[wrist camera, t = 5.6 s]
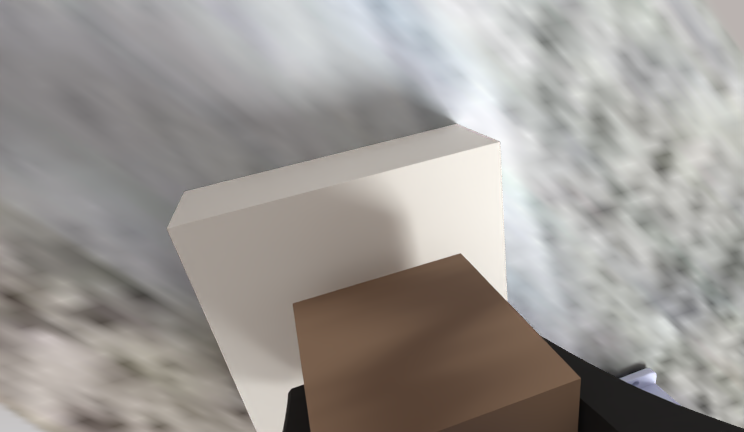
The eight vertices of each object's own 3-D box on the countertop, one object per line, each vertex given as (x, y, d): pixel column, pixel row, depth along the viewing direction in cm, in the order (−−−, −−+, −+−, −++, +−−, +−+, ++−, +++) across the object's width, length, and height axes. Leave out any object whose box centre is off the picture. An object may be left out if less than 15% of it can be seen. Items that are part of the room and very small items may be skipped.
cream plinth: (452, 122, 16) (499, 141, 13) (471, 324, 20) (510, 375, 17) (186, 187, 14) (166, 228, 11) (267, 391, 19) (270, 462, 15)
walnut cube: (460, 253, 12) (580, 378, 8) (472, 376, 14) (570, 530, 10) (292, 303, 11) (316, 476, 7) (331, 426, 13) (369, 618, 9)
